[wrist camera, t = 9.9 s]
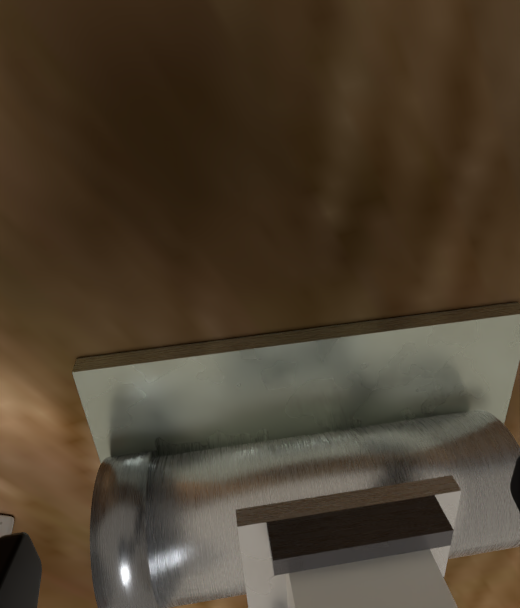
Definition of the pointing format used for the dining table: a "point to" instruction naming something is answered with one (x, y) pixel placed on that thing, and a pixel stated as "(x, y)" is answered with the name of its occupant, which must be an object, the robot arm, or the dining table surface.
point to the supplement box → (6, 525)
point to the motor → (299, 454)
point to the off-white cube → (372, 584)
